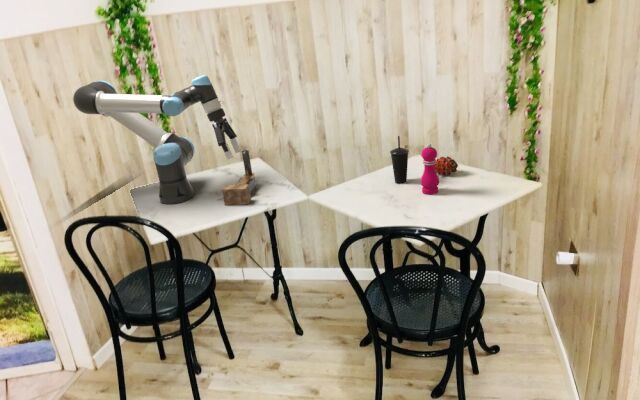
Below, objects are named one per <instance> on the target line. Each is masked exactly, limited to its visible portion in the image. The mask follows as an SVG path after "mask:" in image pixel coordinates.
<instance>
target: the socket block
mask: <svg viewBox="0 0 640 400" xmlns="http://www.w3.org/2000/svg"><path fill="white" fill-rule="evenodd" d="M221 192H222V197H223V203H224V206H244V205H245V206H246V205H249V203H250V202H251V201H252V198H251V197H252V195H251V196H250V190H249V185H248V184H246V185H235V184H226V185H224V187H222V189H221Z"/></svg>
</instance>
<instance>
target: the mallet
mask: <svg viewBox="0 0 640 400" xmlns="http://www.w3.org/2000/svg"><path fill="white" fill-rule="evenodd" d="M241 154H242V162H243V166H244V175H243V176H242V177H241V178H242V179H241V180H240V181H239V182H238V183H237V184H236V185H246V184H248V183H249V181H250V180H251V179H252V178H253V177H255V178H256V175H255V173H253V171H252V170H253V169H252V165H251V164H252V163H251V158H250V157H251V156H250V150H247V149H244V150H241Z"/></svg>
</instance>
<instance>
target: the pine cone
mask: <svg viewBox="0 0 640 400" xmlns="http://www.w3.org/2000/svg"><path fill="white" fill-rule="evenodd" d="M458 167H459V164H458V163H457V162H456V160H455V159H454V158H452V157H450V156H446V157H444V156H440V157H439V158H436V163H435V171H436V173H437V174H438V175H441V176H442V177H444V176H446V175H447V176H450V175H452V174H453V173H456V172H457V171H458V169H457V168H458Z"/></svg>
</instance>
